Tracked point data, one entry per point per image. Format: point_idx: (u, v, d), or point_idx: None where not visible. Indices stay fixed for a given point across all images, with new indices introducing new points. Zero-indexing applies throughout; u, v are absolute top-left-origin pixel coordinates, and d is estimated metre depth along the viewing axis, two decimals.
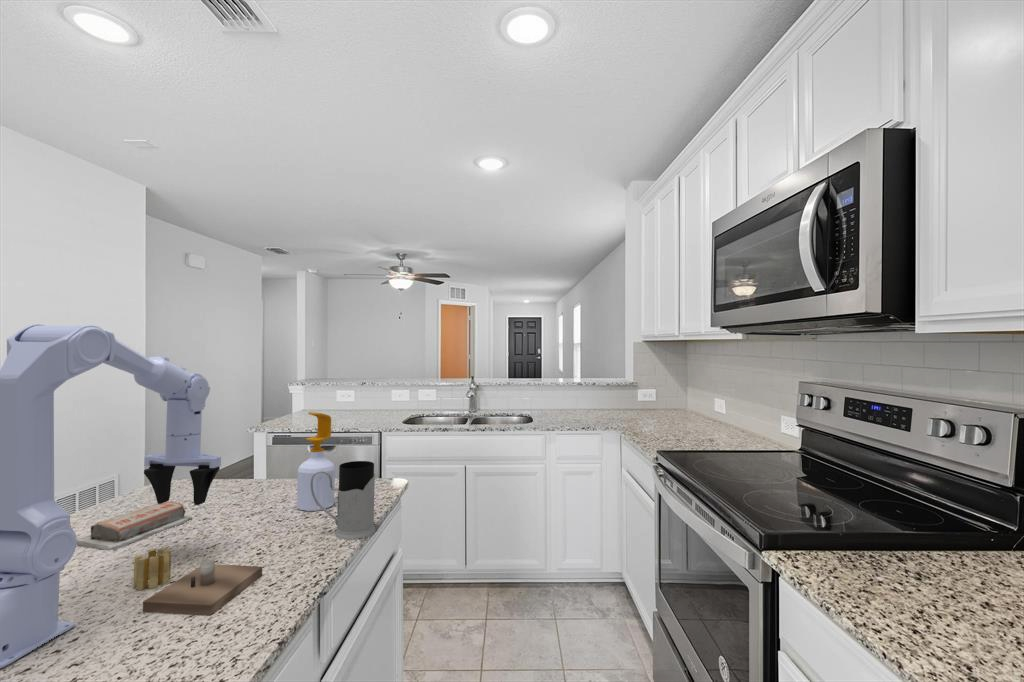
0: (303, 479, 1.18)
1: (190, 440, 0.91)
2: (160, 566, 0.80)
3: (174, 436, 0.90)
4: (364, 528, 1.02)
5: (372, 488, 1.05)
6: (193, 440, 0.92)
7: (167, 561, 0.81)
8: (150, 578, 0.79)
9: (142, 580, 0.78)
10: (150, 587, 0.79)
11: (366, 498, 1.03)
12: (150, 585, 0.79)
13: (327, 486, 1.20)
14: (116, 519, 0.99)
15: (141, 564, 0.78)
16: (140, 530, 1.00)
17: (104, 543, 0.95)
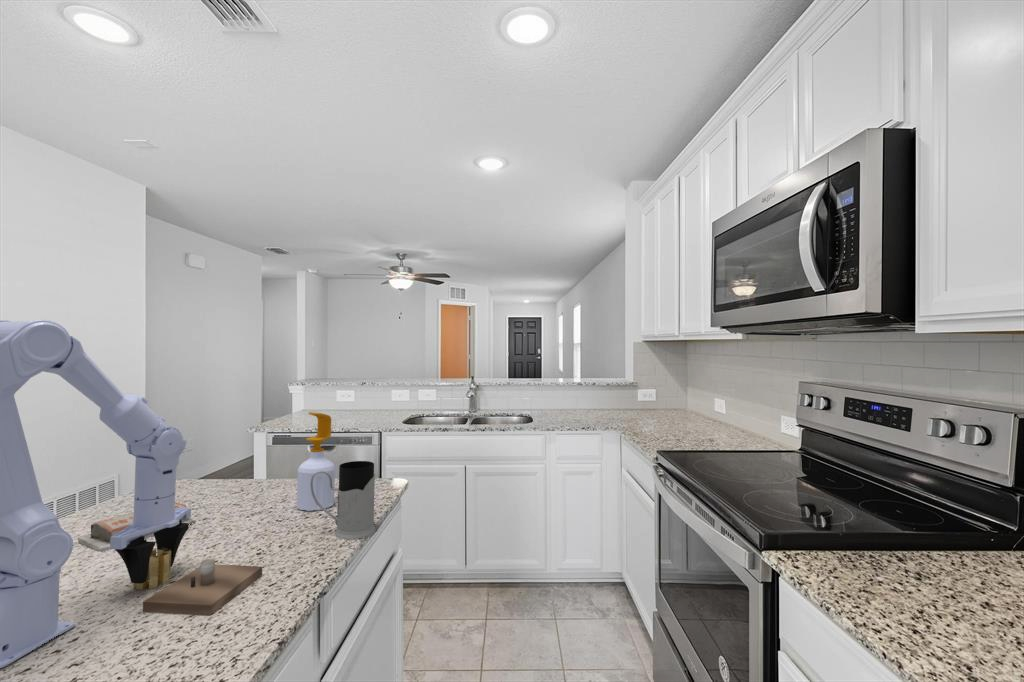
0: (303, 479, 1.18)
1: (135, 505, 0.79)
2: (160, 566, 0.80)
3: None
4: (364, 528, 1.02)
5: (372, 488, 1.05)
6: (136, 506, 0.78)
7: (167, 561, 0.81)
8: (150, 578, 0.79)
9: None
10: (150, 587, 0.79)
11: (366, 498, 1.03)
12: (150, 585, 0.79)
13: (327, 486, 1.20)
14: (115, 519, 0.99)
15: None
16: None
17: (99, 543, 0.95)
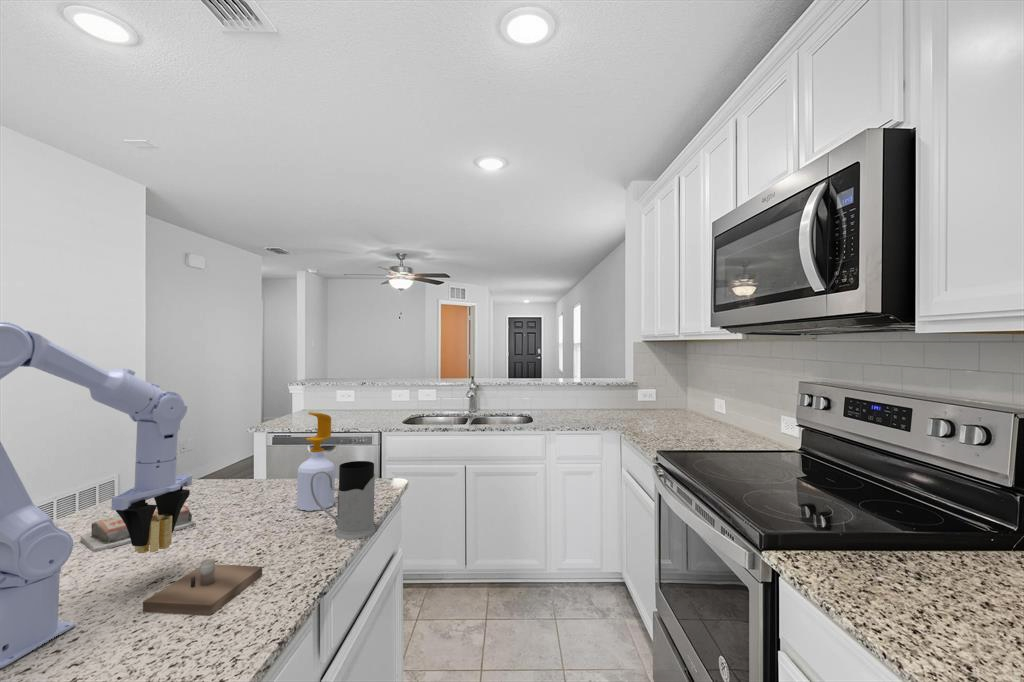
0: (303, 479, 1.18)
1: (136, 468, 0.79)
2: (161, 530, 0.80)
3: None
4: (364, 528, 1.02)
5: (372, 488, 1.05)
6: (138, 469, 0.79)
7: (168, 526, 0.81)
8: (151, 541, 0.79)
9: None
10: (151, 550, 0.79)
11: (366, 498, 1.03)
12: (151, 548, 0.79)
13: (327, 486, 1.20)
14: (115, 519, 0.99)
15: None
16: None
17: (96, 542, 0.95)
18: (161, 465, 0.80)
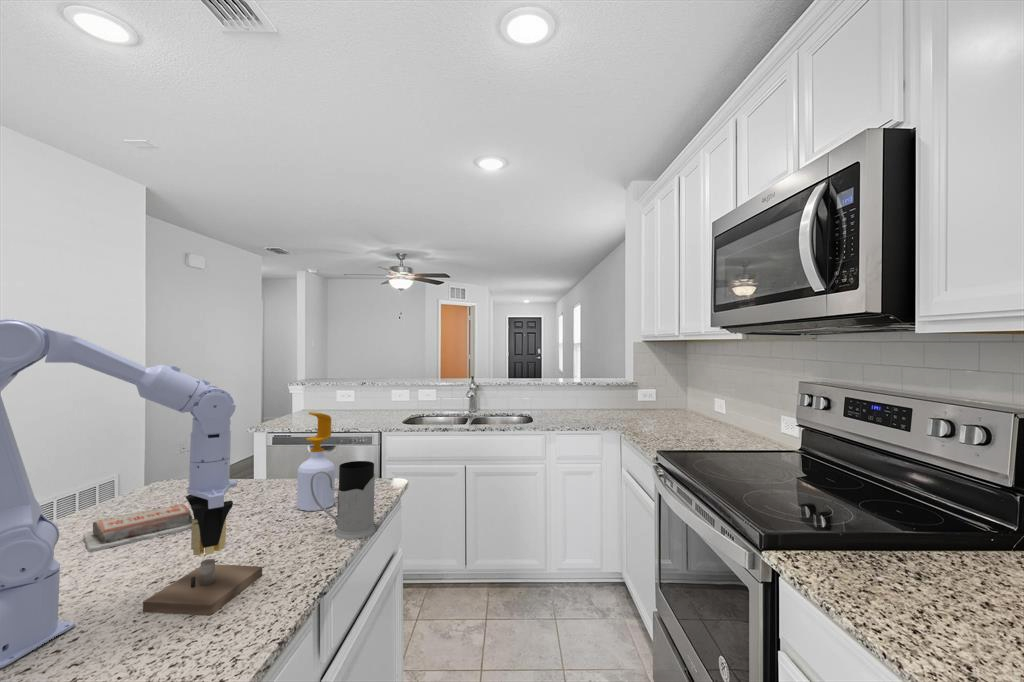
0: (303, 479, 1.18)
1: (202, 469, 0.76)
2: None
3: (190, 461, 0.76)
4: (364, 528, 1.02)
5: (372, 488, 1.05)
6: (206, 469, 0.76)
7: None
8: (219, 540, 0.78)
9: None
10: (220, 549, 0.78)
11: (366, 498, 1.03)
12: (220, 547, 0.78)
13: (327, 486, 1.20)
14: (115, 518, 0.99)
15: None
16: (129, 534, 0.98)
17: (94, 542, 0.95)
18: (228, 461, 0.79)
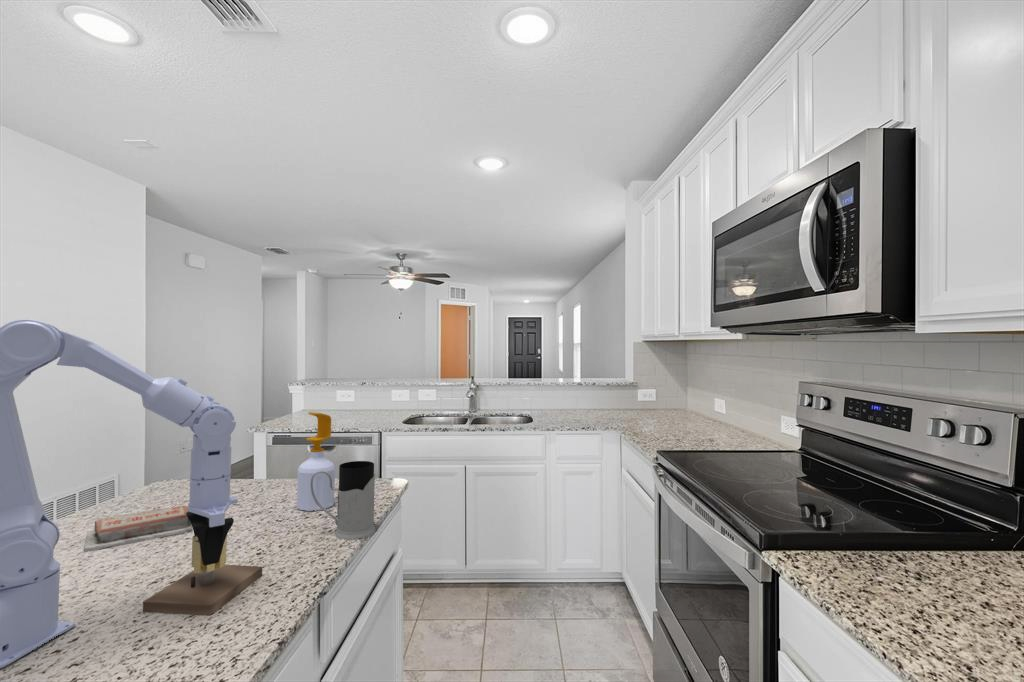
0: (303, 479, 1.18)
1: (203, 486, 0.76)
2: None
3: (190, 479, 0.76)
4: (364, 528, 1.02)
5: (372, 488, 1.05)
6: (207, 486, 0.76)
7: None
8: (220, 557, 0.78)
9: None
10: (220, 566, 0.77)
11: (366, 498, 1.03)
12: (220, 564, 0.77)
13: (327, 486, 1.20)
14: (115, 518, 1.00)
15: None
16: (126, 535, 0.97)
17: (92, 541, 0.96)
18: (228, 478, 0.79)
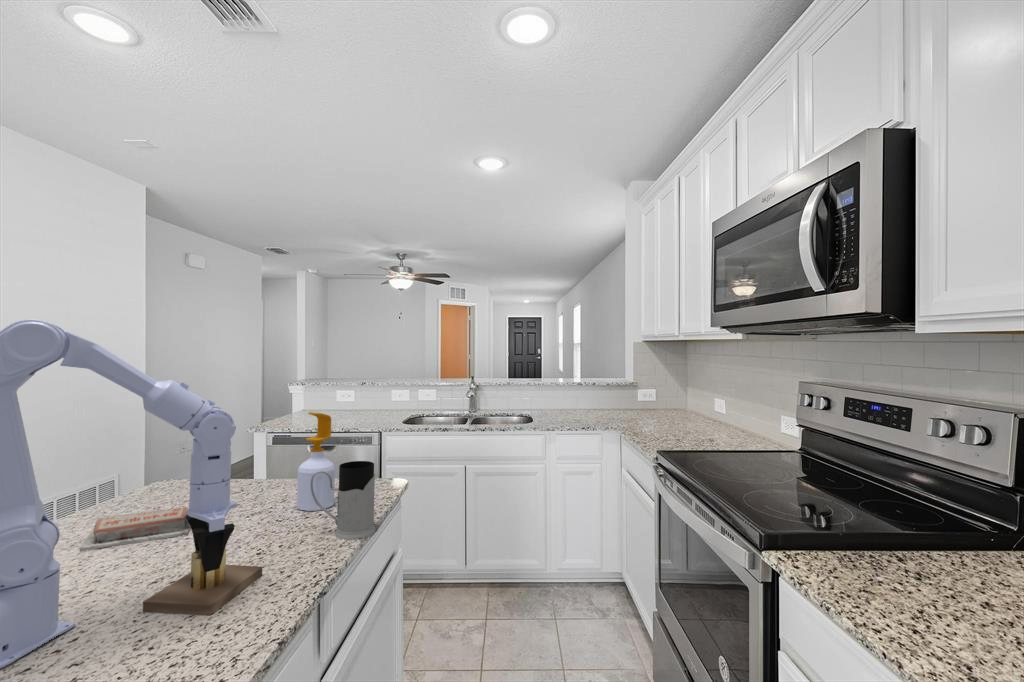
0: (303, 479, 1.18)
1: (203, 490, 0.76)
2: None
3: (190, 483, 0.76)
4: (364, 528, 1.02)
5: (372, 488, 1.05)
6: (207, 491, 0.76)
7: None
8: (220, 573, 0.77)
9: (212, 577, 0.76)
10: (220, 582, 0.77)
11: (366, 498, 1.03)
12: (220, 580, 0.77)
13: (327, 486, 1.20)
14: (115, 518, 1.00)
15: None
16: (121, 536, 0.97)
17: (90, 540, 0.96)
18: (228, 482, 0.79)
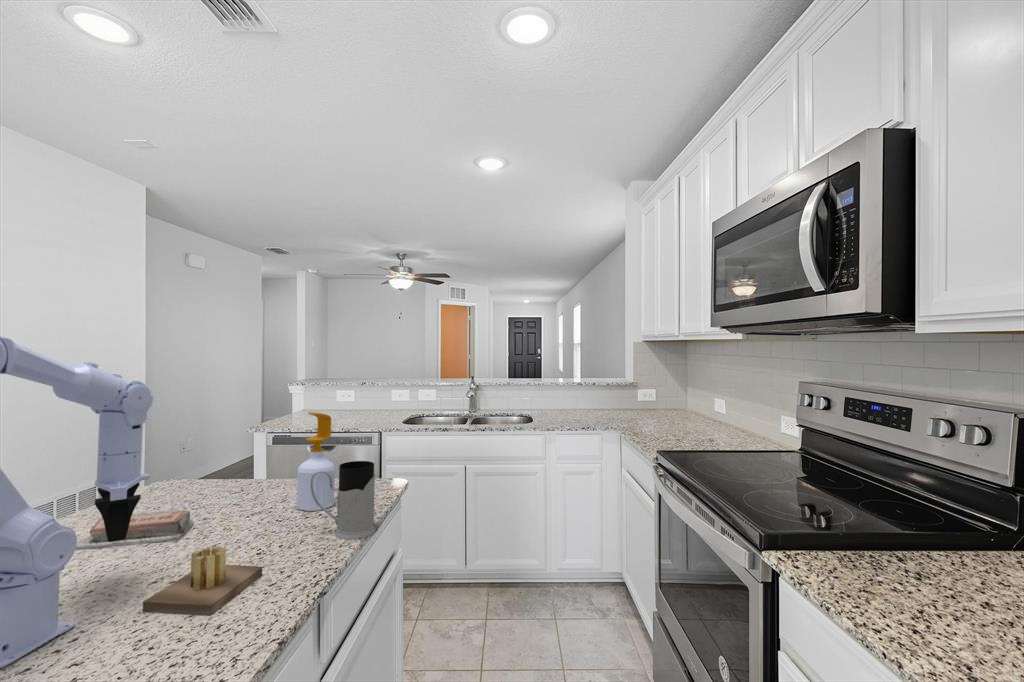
0: (303, 479, 1.18)
1: (109, 461, 0.76)
2: None
3: None
4: (364, 528, 1.02)
5: (372, 488, 1.05)
6: (113, 461, 0.76)
7: None
8: (220, 573, 0.77)
9: (212, 577, 0.76)
10: (220, 582, 0.77)
11: (366, 498, 1.03)
12: (220, 580, 0.77)
13: (327, 486, 1.20)
14: None
15: (212, 561, 0.76)
16: None
17: (90, 539, 0.97)
18: (138, 454, 0.79)
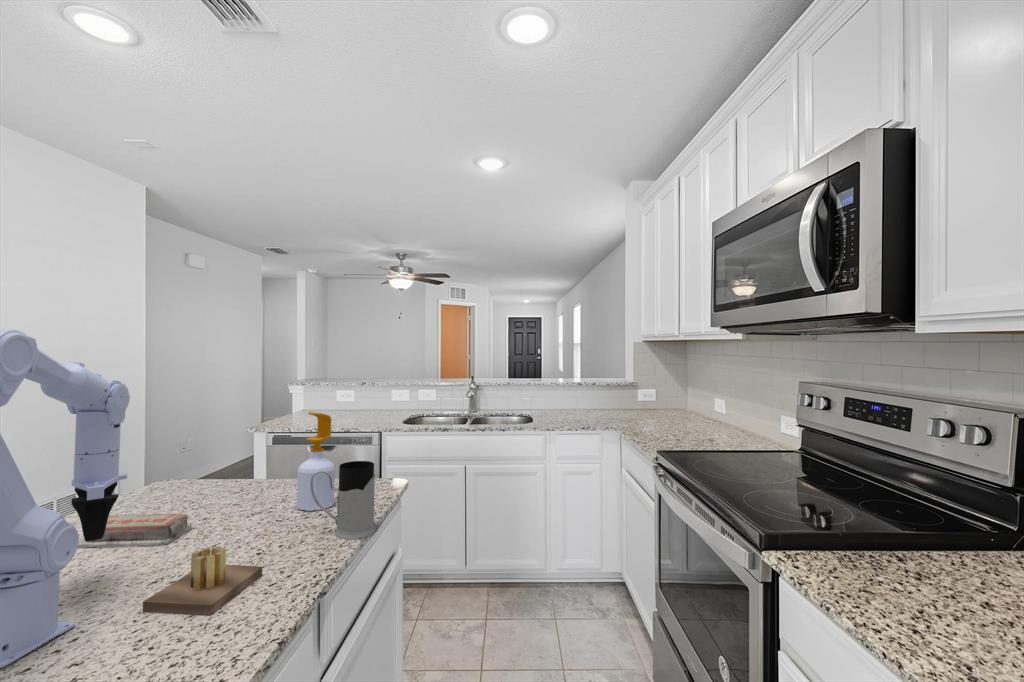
0: (303, 479, 1.18)
1: (86, 461, 0.76)
2: None
3: None
4: (364, 528, 1.02)
5: (372, 488, 1.05)
6: (90, 461, 0.76)
7: None
8: (220, 573, 0.77)
9: (212, 577, 0.76)
10: (220, 582, 0.77)
11: (366, 498, 1.03)
12: (220, 580, 0.77)
13: (327, 486, 1.20)
14: (116, 517, 1.00)
15: (212, 561, 0.76)
16: (110, 537, 0.96)
17: None
18: (115, 454, 0.79)
